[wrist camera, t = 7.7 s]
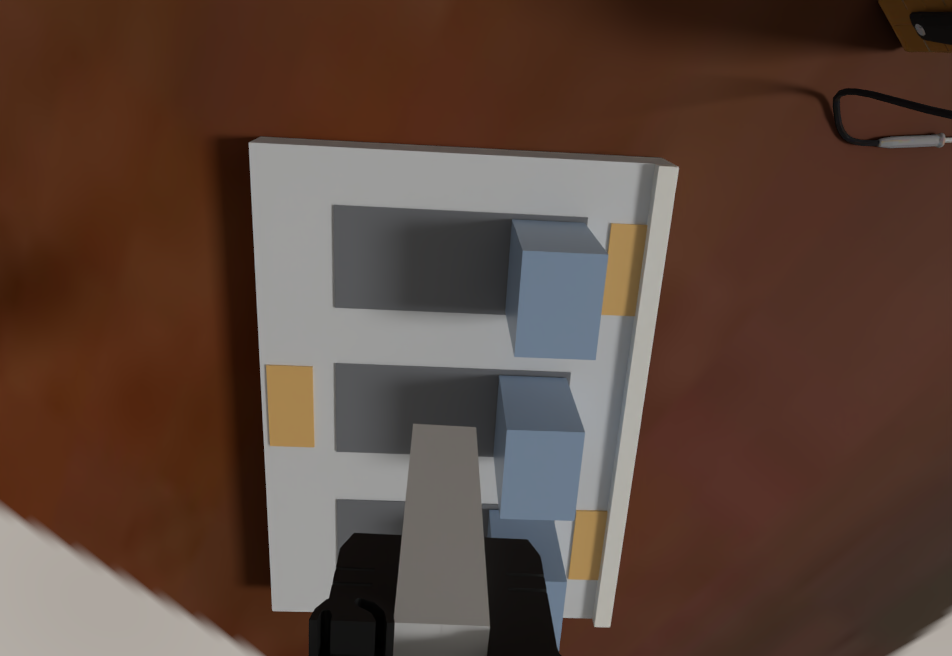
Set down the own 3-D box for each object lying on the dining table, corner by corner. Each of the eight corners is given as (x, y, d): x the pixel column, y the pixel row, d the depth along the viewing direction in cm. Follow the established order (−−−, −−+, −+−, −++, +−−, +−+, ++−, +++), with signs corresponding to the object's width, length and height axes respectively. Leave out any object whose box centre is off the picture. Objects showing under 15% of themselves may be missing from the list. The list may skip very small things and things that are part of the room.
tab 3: (489, 509, 35) (494, 580, 31) (551, 511, 36) (567, 581, 31) (484, 578, 37) (488, 655, 32) (544, 579, 37) (557, 657, 32)
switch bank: (260, 136, 31) (244, 144, 29) (661, 157, 32) (679, 166, 30) (280, 584, 39) (269, 619, 37) (600, 591, 40) (610, 627, 38)
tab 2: (499, 375, 33) (506, 429, 28) (566, 377, 33) (585, 432, 28) (493, 454, 34) (499, 518, 30) (557, 456, 34) (574, 520, 30)
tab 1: (511, 219, 30) (522, 250, 26) (584, 222, 31) (608, 254, 26) (505, 311, 32) (514, 357, 27) (574, 314, 32) (595, 360, 27)
